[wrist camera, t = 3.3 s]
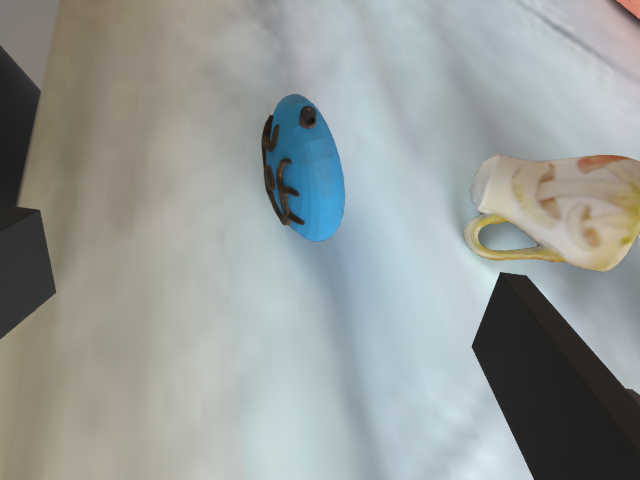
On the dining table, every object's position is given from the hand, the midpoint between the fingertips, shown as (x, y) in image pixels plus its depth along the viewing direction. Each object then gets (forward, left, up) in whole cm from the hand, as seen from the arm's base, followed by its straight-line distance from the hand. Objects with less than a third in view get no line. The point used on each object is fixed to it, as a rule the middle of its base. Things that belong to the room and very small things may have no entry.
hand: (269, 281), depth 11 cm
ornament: (+2, +9, -14) cm, 16 cm away
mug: (+18, +7, -14) cm, 23 cm away
